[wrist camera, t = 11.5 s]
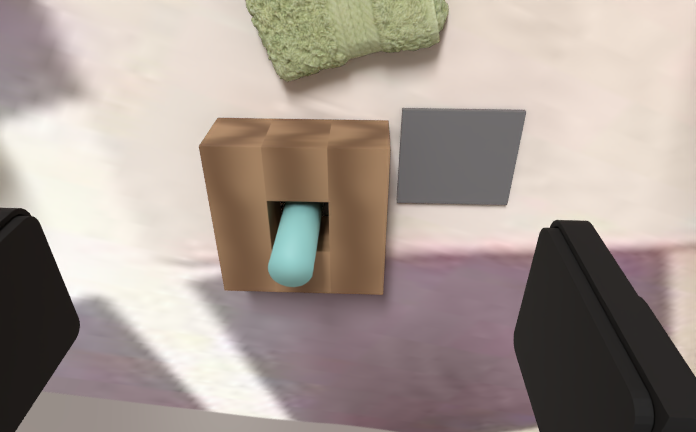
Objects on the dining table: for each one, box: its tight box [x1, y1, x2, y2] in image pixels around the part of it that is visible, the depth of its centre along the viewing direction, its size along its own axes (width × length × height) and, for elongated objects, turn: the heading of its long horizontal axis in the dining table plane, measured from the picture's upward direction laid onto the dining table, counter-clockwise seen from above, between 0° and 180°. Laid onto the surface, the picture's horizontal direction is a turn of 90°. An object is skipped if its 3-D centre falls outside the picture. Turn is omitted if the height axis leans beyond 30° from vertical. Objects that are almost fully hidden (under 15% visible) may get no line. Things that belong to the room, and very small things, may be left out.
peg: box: [268, 201, 324, 287], centre depth 37 cm, size 3×3×10 cm
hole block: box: [199, 118, 390, 295], centre depth 40 cm, size 13×13×5 cm
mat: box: [397, 108, 526, 205], centre depth 39 cm, size 9×8×1 cm
